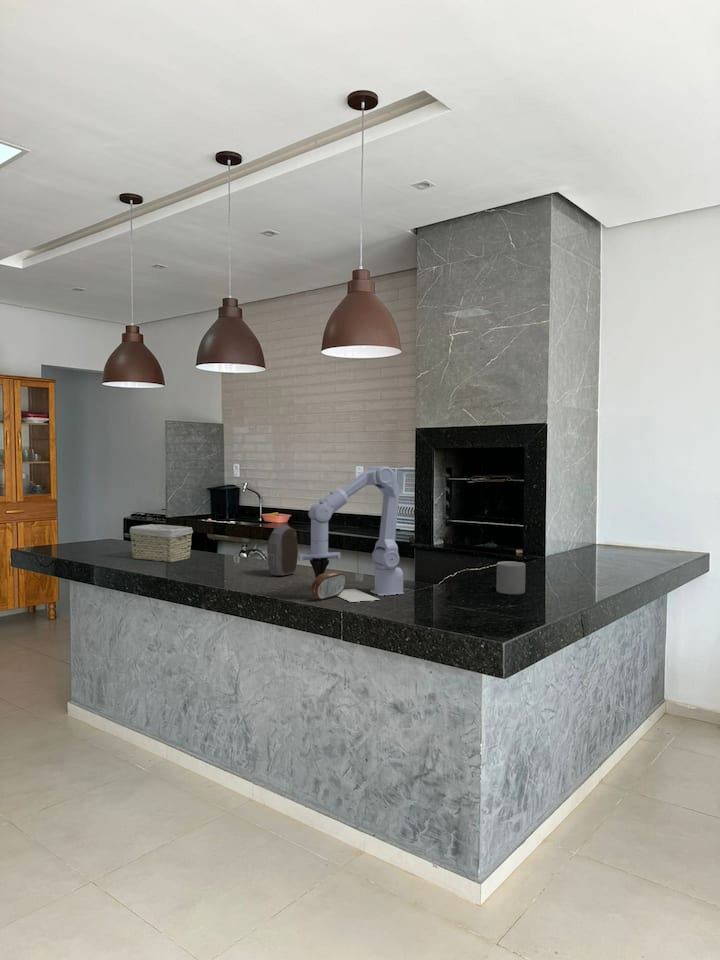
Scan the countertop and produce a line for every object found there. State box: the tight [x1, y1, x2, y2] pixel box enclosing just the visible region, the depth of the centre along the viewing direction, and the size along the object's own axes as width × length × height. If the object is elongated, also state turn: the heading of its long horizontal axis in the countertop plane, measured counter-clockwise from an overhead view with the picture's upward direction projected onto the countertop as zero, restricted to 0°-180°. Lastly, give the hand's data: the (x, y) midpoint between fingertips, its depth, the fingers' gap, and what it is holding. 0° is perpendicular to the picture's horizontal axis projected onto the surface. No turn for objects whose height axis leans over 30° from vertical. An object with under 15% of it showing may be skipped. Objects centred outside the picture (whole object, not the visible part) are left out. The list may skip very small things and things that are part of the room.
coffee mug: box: [495, 560, 526, 595], centre depth 252 cm, size 13×10×10 cm
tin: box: [310, 570, 348, 600], centre depth 234 cm, size 15×3×8 cm, turn 141°
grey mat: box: [336, 588, 381, 603], centre depth 238 cm, size 10×20×1 cm, turn 25°
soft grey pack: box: [266, 524, 299, 577], centre depth 279 cm, size 15×8×20 cm, turn 150°
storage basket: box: [129, 523, 194, 563], centre depth 317 cm, size 24×16×15 cm
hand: (319, 581), depth 233 cm, fingers closed
